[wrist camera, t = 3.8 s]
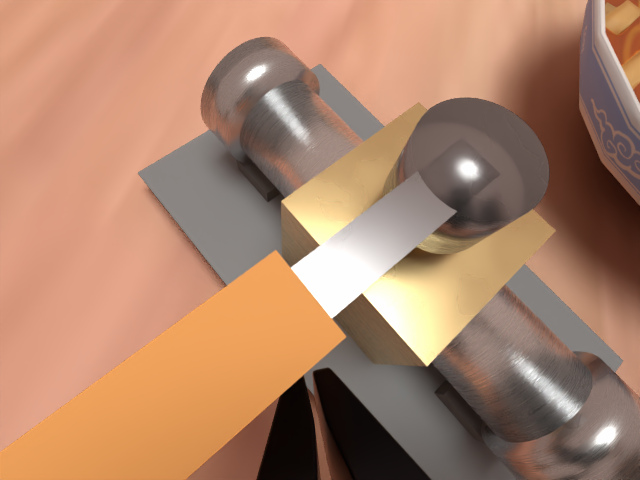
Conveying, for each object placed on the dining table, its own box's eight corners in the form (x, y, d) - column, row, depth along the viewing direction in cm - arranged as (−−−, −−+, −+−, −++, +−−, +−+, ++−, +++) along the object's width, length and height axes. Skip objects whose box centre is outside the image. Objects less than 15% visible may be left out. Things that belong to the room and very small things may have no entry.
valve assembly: (596, 360, 18) (851, 361, 10) (445, 561, 14) (649, 815, 6) (317, 82, 22) (337, -77, 14) (148, 187, 18) (45, 54, 10)
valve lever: (432, 139, 11) (479, 70, 8) (507, 213, 10) (583, 163, 8) (60, 415, 8) (-60, 445, 5) (138, 550, 7) (50, 665, 4)
